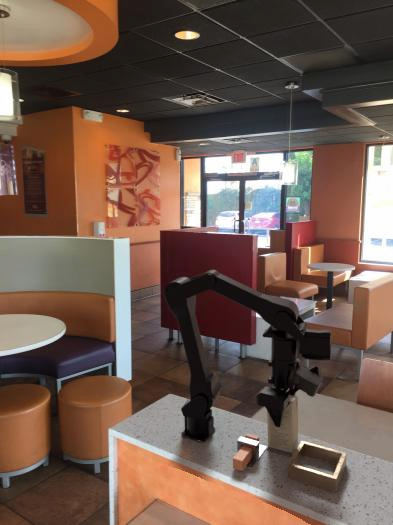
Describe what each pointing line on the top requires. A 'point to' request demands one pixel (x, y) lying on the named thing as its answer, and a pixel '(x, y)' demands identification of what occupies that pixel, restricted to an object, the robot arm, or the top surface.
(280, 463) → the top surface
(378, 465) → the top surface
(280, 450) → the coaster
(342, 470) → the open wooden box
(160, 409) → the top surface
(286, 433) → the skincare box
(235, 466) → the lock bar
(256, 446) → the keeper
